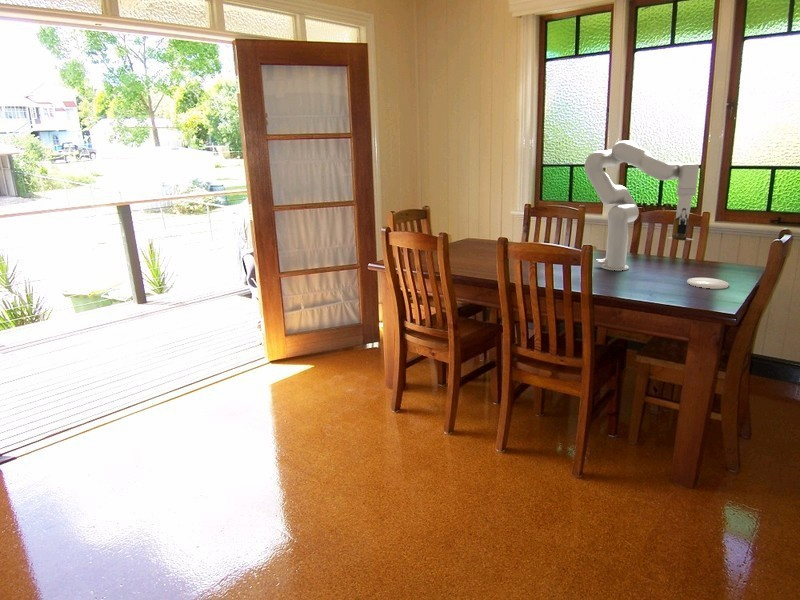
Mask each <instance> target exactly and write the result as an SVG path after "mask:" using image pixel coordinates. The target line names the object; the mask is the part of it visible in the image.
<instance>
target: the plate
mask: <svg viewBox="0 0 800 600" xmlns="http://www.w3.org/2000/svg"><path fill="white" fill-rule="evenodd" d="M686 283H687V285H689V284H690V286H692V287H695V286H696V287H695V288H699V287H702V288H701V289H706V288H710V290H724V289H727V288H729V285H730V284H729V282H727V281H725V280H723V279H722V280H721V279H719V278H718V279H717V278H712V277H692V278H688V279H687V281H686Z"/></svg>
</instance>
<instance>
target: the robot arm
mask: <svg viewBox="0 0 800 600" xmlns="http://www.w3.org/2000/svg"><path fill="white" fill-rule="evenodd" d="M623 163H626V164H629V165H631V166H633V167H636V168H638V170H639V171H641V172H642V173H644V174H645V175H647V176H650V177H652V178H654V179H657V180H659V181H673V180H677V184H676V185H677V187H676V195H675V196H677V197H678V198H677V199H678V200H677V205H676V212H677V213H676V212H675V215H676V216H675V217H676V218H678V217H680V218H679V225H678V231H677V233H678V234H685V232H686V219H687V218H689V217H690V212H691V206H692V198H693V197H694V196H695V197H696V193H697V186H698V177H699V172H700V171H699V169H700V165H699V164H698V163H692V162H690V163H689V162H688V163H687V162H685V163H681V162H672V161H671V162H664V161H662V160H659V159H656V158H655V157H653V156H651V153H650V151H649V150H647V149H645V148H642V147H640V146H639V145H638V144H637V143H636V142H635V141H633V140H620V141H618V142H616V143H615V144H613V146H612V148H610V149H608V150H607V149H605V150H604V149H603V150H596V151H592V152H591V153H589V154H588V156H587V157H586V159H585V162H584V172H585V174H586V177H587V178H588V181H590V183H591V185H592V187H593V189H594V190H595V192H596V194H597V195H598V196H597V197H598V198H599V199H600V201H601V203H602V204H604V205H605V206H612V207H611V208H610V209H609V210H608V212H607V240H606V251H605V257H604V258H602V259H599V258H596V259H595V264H601V268H602V269H603V270H608V271H614V270H615V271H618V272H619V271H622V270H623V271H627V270H629V267H630V266H629V265H627V264H626V263H627V255H628V254H627V253H628V245H629V244H628V243H629V225H628V223H632V222H635V221H636V220H637V219H638V217H639V214H640V212H639V211H640V210H639V208H638V206H637V204H636V202H635V200H634V198H633V196H632V195H631V192H630V191H629V190H628V189H627V187H625V186H623V184H622V185H621V184H614V182H613V181H612V180H611V178H610V176H609V175H608V173H607V172H606V171H605V170H604V169H605V168H607V169H608V168H612V167H615V166H618V165H620V164H623ZM681 217H682V218H681ZM685 217H686V218H685ZM680 222H681V223H680ZM684 224H685V225H684Z"/></svg>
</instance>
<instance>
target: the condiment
mask: <svg viewBox="0 0 800 600" xmlns="http://www.w3.org/2000/svg"><path fill="white" fill-rule="evenodd" d="M676 213H677V211H676V212H675V217H674V219H673V224H672V234H671V237H668V239H671V240H677V241H693V240H695V238H689V237H688V232H689V222H690V218H689V217H688V218H687V219H686V232H685V234H678V233H677V231H678V225H679V218H680V217H678V218H676ZM681 218H682V217H681ZM685 218H686V217H685ZM680 223H681V222H680ZM684 225H685V224H684Z"/></svg>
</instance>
